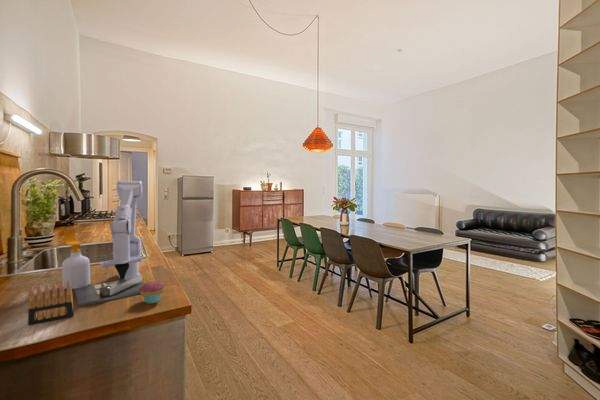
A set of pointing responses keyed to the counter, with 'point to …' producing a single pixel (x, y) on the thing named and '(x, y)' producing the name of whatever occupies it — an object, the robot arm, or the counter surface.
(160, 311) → the counter surface
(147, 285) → the cupcake
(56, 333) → the counter surface
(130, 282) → the white long bar
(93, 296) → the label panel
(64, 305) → the ammunition clip
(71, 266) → the soap bottle
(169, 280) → the counter surface
